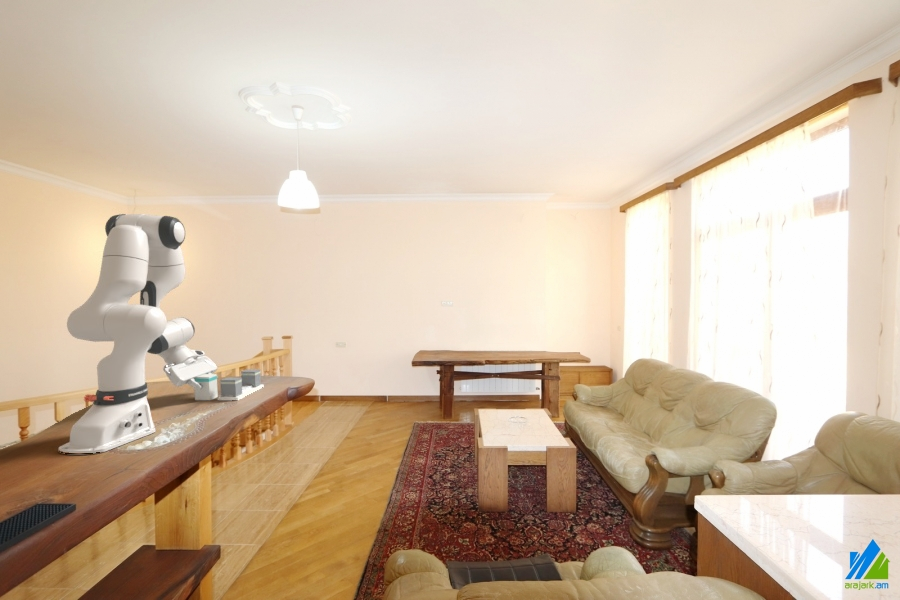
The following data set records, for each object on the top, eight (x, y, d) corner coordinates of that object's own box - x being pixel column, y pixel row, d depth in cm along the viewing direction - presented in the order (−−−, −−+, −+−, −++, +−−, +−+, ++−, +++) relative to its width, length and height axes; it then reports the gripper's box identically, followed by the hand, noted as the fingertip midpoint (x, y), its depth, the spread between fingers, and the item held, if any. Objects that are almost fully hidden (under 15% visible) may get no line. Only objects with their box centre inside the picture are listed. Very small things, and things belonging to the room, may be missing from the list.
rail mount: (237, 400, 152) (236, 380, 151) (217, 400, 152) (216, 380, 152) (263, 387, 169) (263, 369, 169) (245, 386, 170) (245, 369, 170)
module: (209, 400, 152) (208, 377, 152) (194, 400, 153) (193, 376, 152) (217, 396, 157) (216, 374, 156) (203, 396, 157) (202, 373, 157)
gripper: (166, 360, 144) (193, 387, 144) (205, 350, 164) (229, 373, 164) (155, 372, 145) (182, 399, 144) (196, 360, 165) (219, 384, 165)
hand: (207, 385), depth 154 cm, fingers open, 6 cm apart
